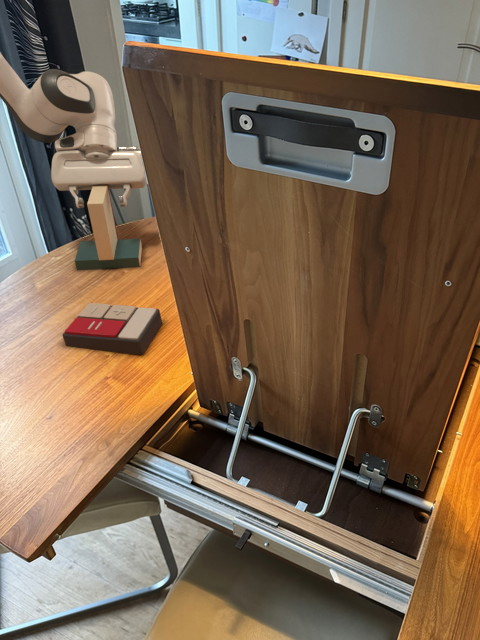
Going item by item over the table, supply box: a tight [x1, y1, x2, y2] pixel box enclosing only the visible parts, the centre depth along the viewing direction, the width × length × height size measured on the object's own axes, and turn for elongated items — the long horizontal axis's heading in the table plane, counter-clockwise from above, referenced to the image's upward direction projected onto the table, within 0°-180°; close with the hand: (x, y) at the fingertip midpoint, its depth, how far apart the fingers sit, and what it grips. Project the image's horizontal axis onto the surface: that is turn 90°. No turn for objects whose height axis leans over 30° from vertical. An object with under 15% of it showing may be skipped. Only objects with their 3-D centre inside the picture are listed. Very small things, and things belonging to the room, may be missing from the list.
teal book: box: [74, 238, 143, 271], centre depth 121 cm, size 14×10×3 cm
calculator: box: [62, 302, 163, 356], centre depth 98 cm, size 11×4×15 cm
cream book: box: [86, 185, 119, 260], centre depth 116 cm, size 3×11×13 cm, turn 9°
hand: (101, 206), depth 116 cm, fingers open, 8 cm apart
